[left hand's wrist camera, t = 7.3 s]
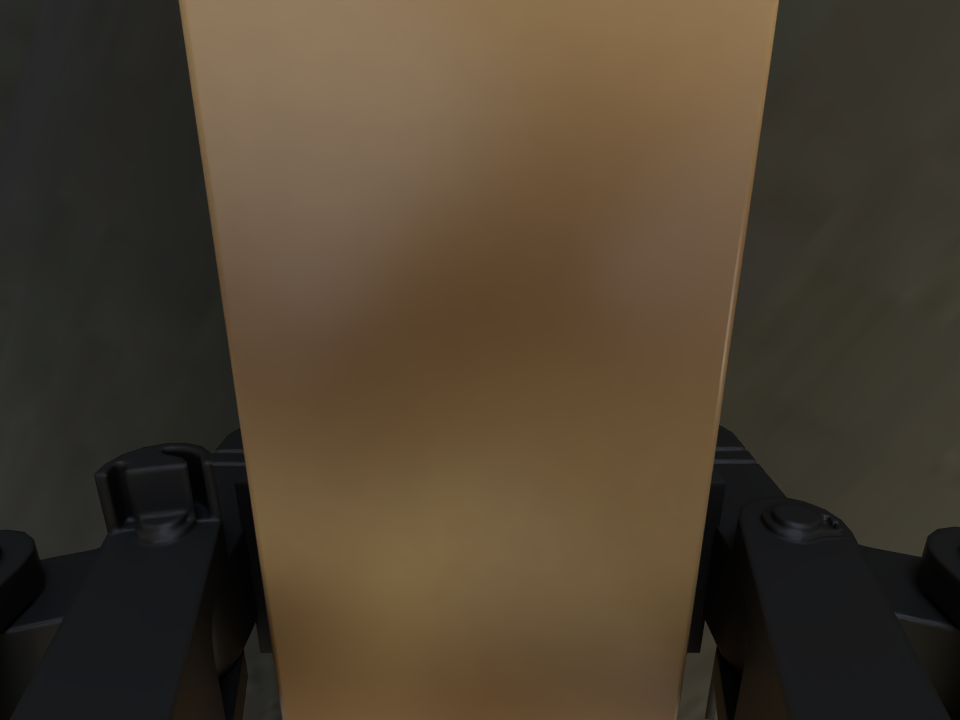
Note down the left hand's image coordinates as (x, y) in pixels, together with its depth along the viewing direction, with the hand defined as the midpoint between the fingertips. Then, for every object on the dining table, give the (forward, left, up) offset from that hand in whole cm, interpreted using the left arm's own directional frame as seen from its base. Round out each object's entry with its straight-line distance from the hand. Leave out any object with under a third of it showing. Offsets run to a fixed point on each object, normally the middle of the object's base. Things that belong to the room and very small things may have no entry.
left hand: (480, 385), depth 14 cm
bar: (+2, +17, -1) cm, 18 cm away
